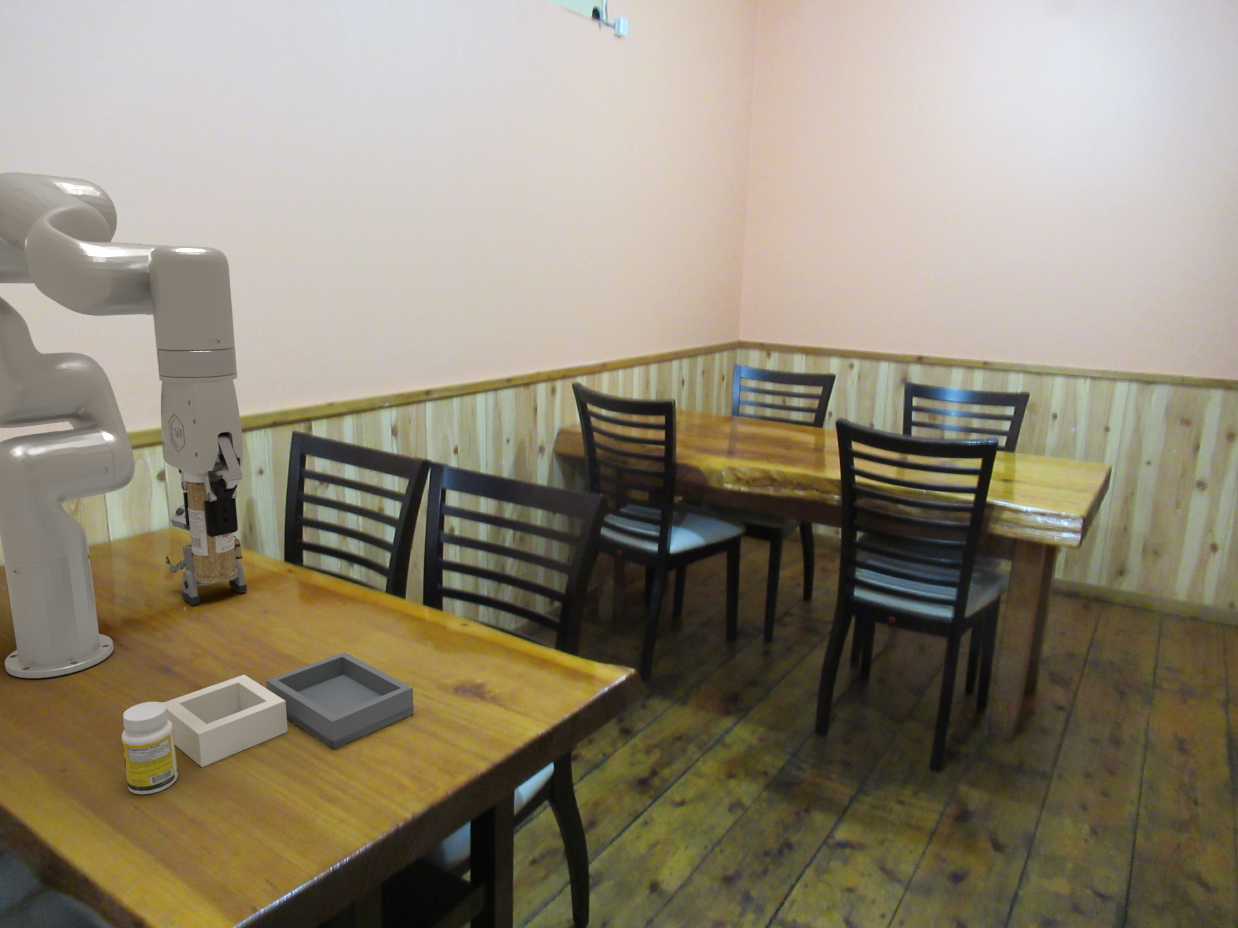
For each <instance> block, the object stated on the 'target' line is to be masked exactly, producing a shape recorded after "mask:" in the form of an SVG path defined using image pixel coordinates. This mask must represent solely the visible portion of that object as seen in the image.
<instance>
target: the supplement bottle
mask: <svg viewBox="0 0 1238 928" xmlns="http://www.w3.org/2000/svg"><path fill="white" fill-rule="evenodd" d="M122 718H123V719H122V720H123V728H124V730H123V732H122V733H121V743H122V754H123V760H124V768H125V776H126V781H127V782H126V783H127V788H128V790H129V792H131V793H133V794H136V795H150V794H155V793H159V792H161V791H164V790H165V789H168V788H170V787H171V786H172V785H173V784H174V783H175V782H176V781H177V779H178V777H179V768H178V762H177V761H178V760H177V753H176V752H177V751H176V745H175V743H174V733H173V725H172V723H171V722H170V721H169V720H168V714H167V707H166V705H165V704H164V702H161V701H145V702H141V703H138V704H135V705H132V706H131V707H129V708H127V709H126V710H125V711H124V712H123V715H122Z"/></svg>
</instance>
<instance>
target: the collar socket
mask: <svg viewBox="0 0 1238 928" xmlns="http://www.w3.org/2000/svg"><path fill="white" fill-rule="evenodd" d="M163 703H164V704H165V705H166V707H167V714H168V720H169V721H170V722H171V723H172V725H173V733H174V743H175V747H177V748H178V749H179V750H181V752H183V753H184V754H186V755H187V757H189V758H190V759H191V760H193V761H194V762H195V763H196V764H198V766H200V767H201V768H204V767H206V766H209V765H211V764H214V763H216V762H218V761H221V760H223V759H225V758H228V757H230V756H233V755H235V754H237V753H240V752H242V751H245V750H248V749H250V748H251V747H255V746H257V745H260V744H261V743H264V742H266V741H269V740H271V739H274V738H276V737H279V736H281V735H284V734H286V733H287V732H289V731H288V729H289V728H288V719H287V715H286V701H285V700H283V699H282V698H280V697H279V696H277V695H276V694H274V693H272V692H271V691H269V690H268V689H267V687H265V686H263V685H261V684H260V683H258V682H257V681H255V680H254V679H252V678H250V677H249V676H248V675H246V674H242V675H239V676H236V677H234V678H230V679H228V680H224V681H221V682H219V683H216V684H213V685H210V686H207V687H204V688H202V689H199V690H196V691H193V692H190V693H187V694H184V695H182V696H178V697H175V698H173V699H170V700H167V701H164V702H163Z"/></svg>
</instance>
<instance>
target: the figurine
mask: <svg viewBox="0 0 1238 928" xmlns="http://www.w3.org/2000/svg"><path fill="white" fill-rule="evenodd" d="M170 522H171V524H172V527H176V528H177V529H182V530H184V531H186V532H190V527H189V526H187V525H186V518H185V507H184V504H181V505H180V506H179V507H178V508H176V510H175V512H174V513H173V515H171V518H170ZM190 536H191V534H190ZM234 543H235V546H234V551H235V561H236V568H237V571H238V573H237V575H236V576H234V577H233V578H231V579H228V580H226V581H223V582H222V583H224V582H227V581H228V583H229V587H230V589H233V591H236V592H237V593H238V594H242V593H245V592H247V591H248V588H247V584H246V578H245V572H244V567H243V565H242V563H241V561H240V560H242V559H243V553H242V548H241V546H242V545H241V541H240V539H238V538H237V536H236V535H234ZM182 553H183V559H180V560H179V562H176V564H175V565H174V564H173V563H172V561H170V558H169V556H166V557H165V564H167V565H168V566H169V573H170V574H174V573H175V574H176V573H177V572H178V571H180V570H184V569H185V571H184V572H183V574H182V592H181V593H182V594H181V597H182V599H183V600H184V602H186V603H188V605H190V606H191V607H192V606H195V605H199V604H200V603H201V602H200V596H199V595H198V594H199V593H198V587H203V586H211V585H215V584H216V583H202V582H199V581H197V580H195V578H194V573H195V568H194V556H193V552H192V545H191V544H186V545H185V546H182ZM219 583H220V582H218V583H217V584H219Z"/></svg>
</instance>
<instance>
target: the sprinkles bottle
mask: <svg viewBox="0 0 1238 928" xmlns="http://www.w3.org/2000/svg"><path fill="white" fill-rule="evenodd" d="M220 470H223V467H222V465H217V466H214V467H213V470H212V471H211V472H213V471H220ZM183 472H184V480H185V481H186V482H185V483H186V485H187V491H186V492H187V496H188V514H189V524H190V531H189V533H190V534H191V535H190V542H191V544H190V545H192V552H193V556H194V568H195V573H194V578H195V580H197V581H199V582H202V583H215V584H219V583H224V582H227V581H226V580H228V579H231V578H233V577H234V576H236V575H237V573H238V571H237V568H236V561H235V551H234V546H235V543H234V540H235V537H234V536H235V532H233V533H229V534H224V535H219V536H215V537H210V536H208V535H207V532H206V521H205V509H204V501H207V500H208V499H207V494H206V488H205V483H204V478H203V475H202V476H197V475H193V474H191V473H188V472H185V471H183ZM222 478H223V477H222V476H218V477H213V479H214V485H216V483H217V481H218V479H222ZM223 581H224V582H223ZM228 581H229V580H228ZM218 582H219V583H218Z"/></svg>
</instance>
